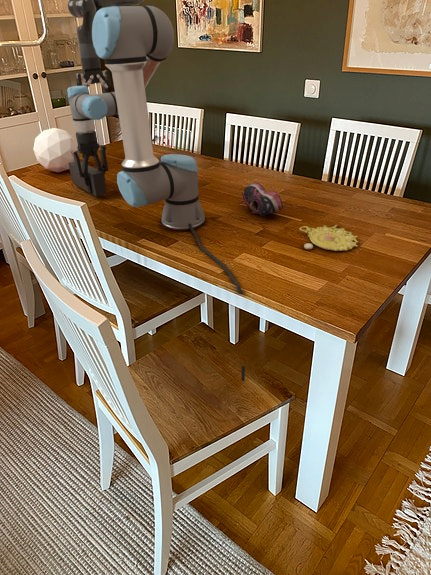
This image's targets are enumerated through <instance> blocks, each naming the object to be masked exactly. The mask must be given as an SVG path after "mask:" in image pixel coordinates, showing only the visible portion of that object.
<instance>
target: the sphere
mask: <svg viewBox="0 0 431 575" xmlns="http://www.w3.org/2000/svg"><path fill="white" fill-rule="evenodd" d="M77 147H78V144H77V141H76V139H75V138H74V137H73V136H72V135H71V133H69V132H68V131H67V130H65V129H61V128H57V127H51V128H48V129H45V130H42V132H40V133H39V134H38V135H37V136H36V137H35V138H34V143H33V148H32V149H33V153H34V156H35V159H36V162H38V164H40V165H41V166H42V167H43V168H44V169H45V170H47V171H50V172H54V173H62V172H65V171H67V170H70V169H69V164H68V163H70V162H75V161H74V157H73V155H72V153H71V151H75V150H76V149H77Z"/></svg>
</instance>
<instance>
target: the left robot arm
mask: <svg viewBox="0 0 431 575" xmlns="http://www.w3.org/2000/svg"><path fill="white" fill-rule="evenodd" d="M143 2H144V0H68V2H67V11H68V13H69V14H70V15H71V16H72V17H74V18H76V19H82V22H81V25H78V26H77V27H76V36H77V42H78V52H79V58H80V64H81V69H82V73H75V82H76V86H87V87H88V88H89V87H90V86H91V85H94V84H99V85H100V86H101V87H102V93H109V88H110V87H112V79H111V74H110V71H109V70H106V69H105V70H102V65H101V63H102V62H101V58H100V57H99V56H98V55H97V54H96V51H95V49H94V46H93V40H92V25H93V20H94V17H95V14H96V13H97V11H98V10H99V9H101V8H106V7H113V6H140V5H141V4H143ZM103 77H104V79H103ZM83 79H84V81H83V82H82V80H83ZM157 138H159V137H158V135H157V134H156V135H154V137H153V138H152V139H151V140H152V142H154V141H155V140H156V139H157Z"/></svg>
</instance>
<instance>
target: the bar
mask: <svg viewBox="0 0 431 575" xmlns="http://www.w3.org/2000/svg"><path fill="white" fill-rule="evenodd" d="M80 163H81V168H82V161H80ZM68 164H69V169H68V170H69V173H70V177H71V182H72V184H73V185H75V186H76V187H78V188H80V189H82V190H84V191H85V192H87V193H88V189H87V186H86V185H85V184H84V180H83V177H79V176H78V175H77V170H76V165H75V162H70V163H68ZM104 175H105V174H104V173H103V172H102V171H100V170H98V168H95V167H94V166H91V165H89V164H88V177H90V182H91V187H92V192H93V194H91V195H92V196H94V197H101V196H105V195H107V194H108V191H107V186H106V185H107V184H106V178H105V179H104Z"/></svg>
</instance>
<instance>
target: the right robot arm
mask: <svg viewBox="0 0 431 575" xmlns="http://www.w3.org/2000/svg"><path fill="white" fill-rule="evenodd" d="M92 40H93V46H94V49H95V51H96V54H97V55H98V56H99V57H100V59H102V60H103V61H104V66H105V67H106V68H107V69H108V70H110V72H111V75H112V82H113V88H114V91H110V92H109V91H108V93H103V92H102V93H94V94H90V90H89V87H87V86H83V85H82V86H77V85H74V86H69V87H68V88H67V90H66V92H67V100H68V104H69V108H70V113H71V118H72V123H73V128H74V132H75V138H76V139H75V140H76V144H77V149H76V150H75V151H71V153H72V155H73V157H74V161H75V165H76V170H77V175H78V176H79V177H83V180H84V184H85V185H86V186H87V189H88V192H87V193H89V194H90V195H92V194H93V192H92V187H91V182H90V177H88V165H89V160H90V157H92V158H93V161H94V164H95V165H96V169H98V170H100V171H102V172H103V173H104V179H105V180H106V176H105V175H106V172H109V166H108V159H107V153H106V151H107V146H106V145H104V144H100V143H99V142H98V135H97V131H96V124H95V121H101V120H103V119H105V117H111V116H116V115H118V120H119V126H120V132H121V138H122V145H123V150H124V159H123V160H122V162H121V169H122V170H121V171H119V172H117V174H116V183H117V187H118V190H119V192H120V194H121V196H122V198H123V200H124V201H125V202H126V203H127V204H128V205H129V206H130V207H132V208H139V207H147V206H148V205H151V204H155V203H159V202H162V201H164V204H163V209H162V213H161V219H160V220H161V225H162V227H163V228H165V229H167V230H170V231H175V232H176V231H177V232H185V231H186V232H187V231H191V232H192V235H193V236H194V238H195V241H196V243H197V246H198V247H199V248H200V250H202V251H203V252H204V253H205V254H206V255H207V256H209V257H210V258H211V259H212V260H214V262H216V263H218V265H219V266H221V267H222V268H223V269H224V270H225V272H226V273H227V274H228V276H229V278H230V279H231V281H232V283H233V284H234V285H235V286H236V290H237V293H238V295H240V296H241V295H242V294H243V291H242V288H241V284H239V282H238V280H237V279H236V278H235V275H233V273H232V271H231V270H230V269H229V268H228V267H227V265H225V263H224V262H222V260H220V259H219V258H217V257H216V256H215V255H213V254H212V253H211V252H210V251H209V250H207V249H206V248H205V247H204V246H203V245H202V244H201V241H200V237H199V236H198V234H197V232H196V230H195V229H198V228H201V227H202V226H203V225H204V224H205V223H206V217H205V212H204V210H203V208H202V204H201V202H200V196H199V176H198V173H199V170H198V164H197V163H198V162H197V160H196V159H195V158H194V157H192V156H191V155H190V156H189V155H187V154H186V155H185V154H178V153H177V154H175V153H171V154H165V155H162V156H160V159H159V158H157V157H156V156H155V154H154V148H153V141H152V140H153V139H152V133H151V125H150V118H149V110H148V102H147V95H146V87H147V86H148V84H149V83H150V81H151V79H152V77H153V75H154V74H155V72H156V70H157V69H158V68H159V66H160V64H161V63H162V62H165V61H166V60H167V59H168V57H169V56H170V54H171V52H172V50H173V47H174V43H175V31H174V26H173V23H172V21H171V20H170V18H169V17H168V15H167V14H166V13H165V12H164V11H163V10H161V9H160V8H158V7H156V6H153V5H133V6H113V7H106V8H101V9H99V10H98V11H97V13H96V14H95V17H94V20H93V25H92ZM98 151H99V155H98ZM80 154H81V158H82V161H81V159H80ZM99 156H100V158H99ZM100 159H101V160H100ZM80 162H82V168H81V163H80ZM245 377H246V365H241V380H242V381H245V382H246V378H245ZM241 380H240V381H241Z"/></svg>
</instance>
